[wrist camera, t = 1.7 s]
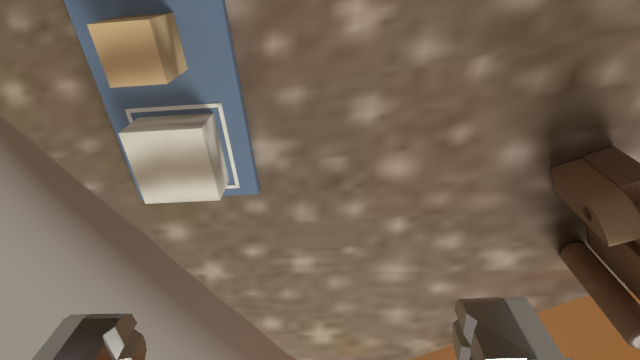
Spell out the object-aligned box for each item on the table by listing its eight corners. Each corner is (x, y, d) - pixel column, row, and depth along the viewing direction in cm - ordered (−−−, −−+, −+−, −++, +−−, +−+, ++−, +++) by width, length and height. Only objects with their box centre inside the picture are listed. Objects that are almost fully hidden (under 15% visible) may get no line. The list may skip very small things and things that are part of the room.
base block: (137, 117, 37) (118, 133, 34) (213, 113, 37) (201, 128, 34) (160, 183, 42) (145, 203, 38) (229, 180, 41) (220, 200, 38)
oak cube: (119, 16, 33) (86, 24, 28) (173, 12, 32) (148, 19, 28) (137, 72, 35) (110, 87, 31) (187, 69, 35) (167, 83, 30)
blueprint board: (66, -12, 32) (58, -11, 31) (219, -25, 32) (216, -25, 31) (144, 194, 44) (140, 200, 43) (260, 189, 43) (258, 194, 42)
